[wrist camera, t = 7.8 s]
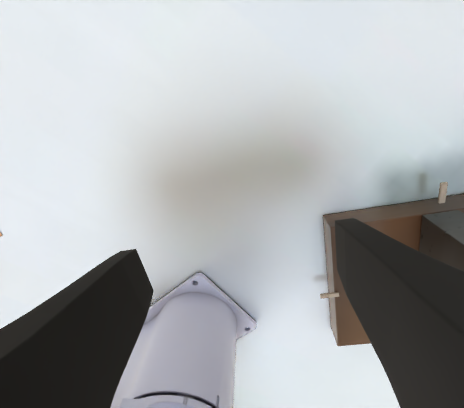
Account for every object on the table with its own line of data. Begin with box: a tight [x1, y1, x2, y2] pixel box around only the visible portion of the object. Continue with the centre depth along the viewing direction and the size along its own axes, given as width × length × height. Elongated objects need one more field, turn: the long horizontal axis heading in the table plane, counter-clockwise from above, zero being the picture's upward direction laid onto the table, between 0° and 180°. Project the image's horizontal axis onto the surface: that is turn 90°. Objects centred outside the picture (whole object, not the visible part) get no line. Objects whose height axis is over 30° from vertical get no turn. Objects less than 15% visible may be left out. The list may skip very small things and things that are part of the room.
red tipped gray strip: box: [419, 210, 464, 271], centre depth 17 cm, size 12×2×5 cm, turn 12°
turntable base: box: [320, 182, 464, 346], centre depth 20 cm, size 16×16×2 cm
